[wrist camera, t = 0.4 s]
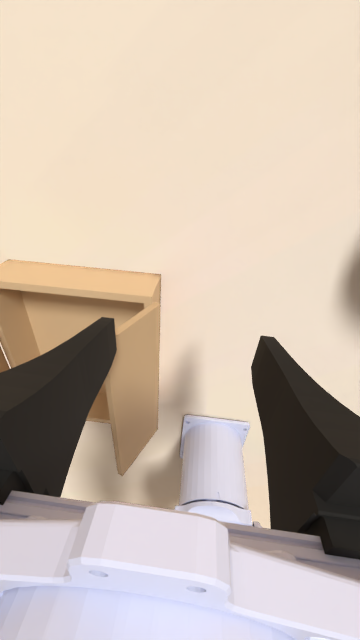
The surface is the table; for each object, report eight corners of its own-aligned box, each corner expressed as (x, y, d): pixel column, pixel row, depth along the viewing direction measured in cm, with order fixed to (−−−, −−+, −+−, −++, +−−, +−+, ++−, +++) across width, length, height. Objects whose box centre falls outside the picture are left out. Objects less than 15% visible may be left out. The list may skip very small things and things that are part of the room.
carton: (158, 398, 31) (151, 428, 27) (49, 385, 31) (30, 413, 28) (160, 274, 22) (151, 296, 18) (8, 259, 22) (-26, 278, 19)
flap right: (153, 426, 27) (157, 429, 27) (118, 473, 23) (122, 476, 23) (154, 302, 19) (160, 304, 19) (98, 340, 15) (105, 343, 14)
